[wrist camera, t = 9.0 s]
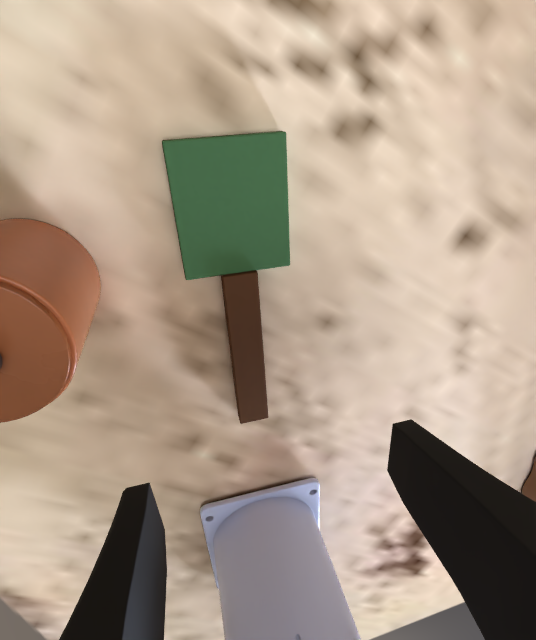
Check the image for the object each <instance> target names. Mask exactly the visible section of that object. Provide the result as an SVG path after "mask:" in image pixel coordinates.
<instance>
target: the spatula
mask: <svg viewBox="0 0 536 640" xmlns="http://www.w3.org/2000/svg"><path fill="white" fill-rule="evenodd" d="M162 145H163V151H164V157H165V163H166V168H167V174H168V180H169V186H170V191H171V197H172V203H173V209H174V215H175V220H176V226H177V232H178V238H179V243H180V249H181V255H182V261H183V267H184V272H185V278H186V280H191V279H198V278H205V277H212V276H219V275H221V281H222V289H223V297H224V305H225V313H226V321H227V329H228V337H229V345H230V353H231V361H232V369H233V377H234V385H235V393H236V401H237V409H238V416H239V420H240V423H241V424H242V423H247V422H251V421H256V420H261V419H265V418H268V406H267V393H266V380H265V366H264V353H263V340H262V326H261V313H260V299H259V286H258V273H257V271H256V270H261V269H268V268H275V267H282V266H289V265H290V247H289V214H288V182H287V149H286V132H283V131H277V132H264V133H252V134H239V135H226V136H213V137H200V138H187V139H174V140H163V141H162Z"/></svg>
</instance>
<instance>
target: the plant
mask: <svg viewBox="0 0 536 640" xmlns="http://www.w3.org/2000/svg"><path fill="white" fill-rule="evenodd" d="M522 494H523V495H525V496H527V497H528V498H530V499H532V500H533V501H535V502H536V456H535V459H534V464H533V468H532V472H531V474H530V476H529V477H528V479H527V480H526V482H525V484H524V486H523V489H522Z"/></svg>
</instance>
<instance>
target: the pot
mask: <svg viewBox="0 0 536 640" xmlns="http://www.w3.org/2000/svg"><path fill="white" fill-rule="evenodd" d="M100 291H101V283H100V276H99V272H98V269H97V267H96V264H95V263H94V261H93V259H92V257H91V256H90V254H89V253H88V251H87V250H86V249H85V248H84V247H83V246H82V245H81V244H80V243H79V242H78V241H77V240H76V239H75V238H73V237H72V236H70V235H69V234H67V233H66V232H64V231H62V230H61V229H59V228H57V227H54V226H52V225H50V224H47V223H43V222H40V221H35V220H30V219H6V220H0V423H1V422H8V421H12V420H16V419H20V418H22V417H25V416H28V415H30V414H32V413H34V412H37V411H38V410H40V409H41V408H43V407H45V406H46V405H48V404H49V403H51V402H52V401H54V400H55V399H56V398H57V397H58V396H59V395H61V393H62V392H63V391H64V390H65V389H66V388H67V386H68V385H69V383H70V382H71V380H72V377H73V375H74V373H75V370H76V367H77V364H78V361H79V358H80V355H81V352H82V349H83V346H84V343H85V340H86V337H87V334H88V331H89V328H90V325H91V322H92V319H93V316H94V313H95V310H96V307H97V304H98V301H99V297H100Z"/></svg>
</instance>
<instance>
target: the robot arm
mask: <svg viewBox="0 0 536 640" xmlns="http://www.w3.org/2000/svg"><path fill="white" fill-rule="evenodd" d="M387 471H388V473H389V475H390V477H391V479H392V481H393V483H394V485H395V487H396V489H397V491H398V493H399V495H400V497H401V499H402V501H403V503H404V505H405V506H406V508H407V510H408V511H409V513H410V514H411V516H412V518H413V519H414V521H415V522H416V524H417V525H418V527H419V529H420V530H421V532H422V533H423V535H424V536H425V538H426V539H427V541H428V542H429V544H430V546H431V547H432V549H433V550H434V552H435V553H436V555H437V556H438V558H439V559H440V561H441V563H442V564H443V566H444V567H445V569H446V570H447V572H448V573H449V575H450V577H451V578H452V580H453V582H454V583H455V585H456V587H457V588H458V590H459V592H460V593H461V595H462V597H463V599H464V601H465V603H466V604H467V606H468V608H469V610H470V612H471V614H472V616H473V617H474V619H475V621H476V623H477V625H478V627H479V629H480V631H481V633H482V635H483V637H484V638H485V640H536V502H535V501H533V500H532V499H530V498H528V497H527V496H525V495H523V494H522V493H520V492H518V491H517V490H515V489H513V488H512V487H510V486H508V485H507V484H505V483H504V482H502V481H500V480H499V479H497V478H496V477H494V476H492V475H491V474H489V473H488V472H486V471H485V470H483V469H482V468H480V467H479V466H477V465H476V464H474V463H473V462H471V461H470V460H468V459H467V458H465V457H464V456H462V455H461V454H459V453H458V452H457V451H455V450H454V449H452V448H451V447H449V446H448V445H447V444H445V443H444V442H442V441H441V440H440V439H438V438H437V437H435V436H434V435H433V434H431V433H430V432H428V431H427V430H426V429H424V428H423V427H421V426H420V425H418V424H417V423H416V422H414V421H413V420H407V421H403V422H399V423H394V424H393V427H392V435H391V444H390V452H389V461H388V469H387ZM319 503H320V484H319V481H318V479H316V478H309V479H305V480H301V481H297V482H293V483H289V484H284V485H280V486H276V487H272V488H268V489H264V490H260V491H256V492H252V493H248V494H244V495H240V496H236V497H232V498H228V499H224V500H220V501H216V502H212V503H208V504H205V505H203V506H202V507H201V509H200V515H201V520H202V524H203V529H204V533H205V537H206V542H207V546H208V551H209V555H210V560H211V564H212V568H213V573H214V577H215V582H216V586H217V588H218V589H219V595H220V603H221V612H222V620H223V628H224V637H225V640H361V638H360V635H359V633H358V630H357V627H356V625H355V622H354V619H353V617H352V614H351V612H350V609H349V606H348V604H347V601H346V598H345V596H344V593H343V590H342V588H341V585H340V583H339V580H338V577H337V575H336V572H335V569H334V567H333V564H332V561H331V559H330V556H329V553H328V551H327V548H326V546H325V543H324V540H323V538H322V535H321V532H320V530H319ZM166 577H167V564H166V545H165V529H164V526H163V523H162V520H161V517H160V514H159V510H158V507H157V504H156V501H155V498H154V495H153V492H152V489H151V486H150V483H146V484H142V485H137V486H133V487H129V488H126V489H125V490H124V491H123V493H122V496H121V500H120V503H119V505H118V508H117V511H116V514H115V517H114V519H113V522H112V525H111V527H110V530H109V532H108V535H107V538H106V540H105V543H104V545H103V547H102V550H101V552H100V554H99V557H98V559H97V561H96V564H95V566H94V568H93V571H92V573H91V575H90V578H89V580H88V582H87V584H86V586H85V588H84V590H83V593H82V595H81V597H80V599H79V601H78V603H77V605H76V607H75V609H74V611H73V613H72V615H71V617H70V620H69V622H68V624H67V626H66V628H65V629H64V631H63V633H62V635H61V637H60V639H59V640H164V623H165V601H166Z"/></svg>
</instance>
